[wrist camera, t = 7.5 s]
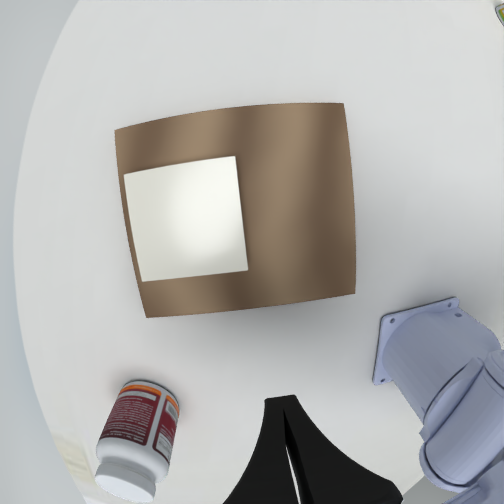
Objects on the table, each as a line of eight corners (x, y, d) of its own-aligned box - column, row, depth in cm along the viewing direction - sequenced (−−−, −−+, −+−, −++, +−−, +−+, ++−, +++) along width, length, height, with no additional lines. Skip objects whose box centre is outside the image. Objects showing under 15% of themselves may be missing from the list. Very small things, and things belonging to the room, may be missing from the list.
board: (338, 106, 18) (343, 103, 17) (350, 288, 21) (355, 293, 20) (119, 132, 17) (114, 130, 16) (149, 312, 21) (146, 317, 20)
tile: (235, 156, 16) (123, 174, 16) (248, 270, 18) (142, 281, 17) (235, 158, 17) (133, 174, 17) (247, 262, 19) (149, 273, 19)
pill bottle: (112, 398, 23) (76, 478, 13) (136, 367, 22) (95, 460, 12) (162, 428, 25) (143, 511, 14) (192, 402, 24) (177, 498, 13)
